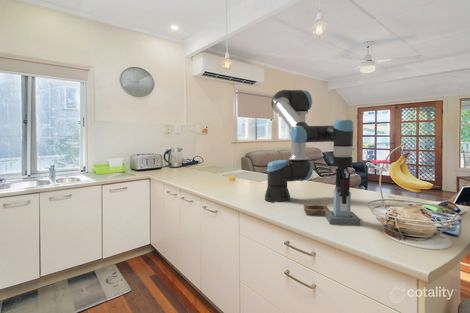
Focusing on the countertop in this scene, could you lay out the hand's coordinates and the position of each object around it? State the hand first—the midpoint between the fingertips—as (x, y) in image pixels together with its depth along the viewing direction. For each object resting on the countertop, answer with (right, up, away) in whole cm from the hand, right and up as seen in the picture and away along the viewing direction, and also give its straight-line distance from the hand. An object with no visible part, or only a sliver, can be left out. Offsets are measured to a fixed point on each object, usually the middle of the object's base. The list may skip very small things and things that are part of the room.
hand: (341, 208), depth 107 cm
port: (0, -6, +1) cm, 6 cm away
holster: (-7, -5, +12) cm, 15 cm away
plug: (0, -4, 0) cm, 4 cm away
